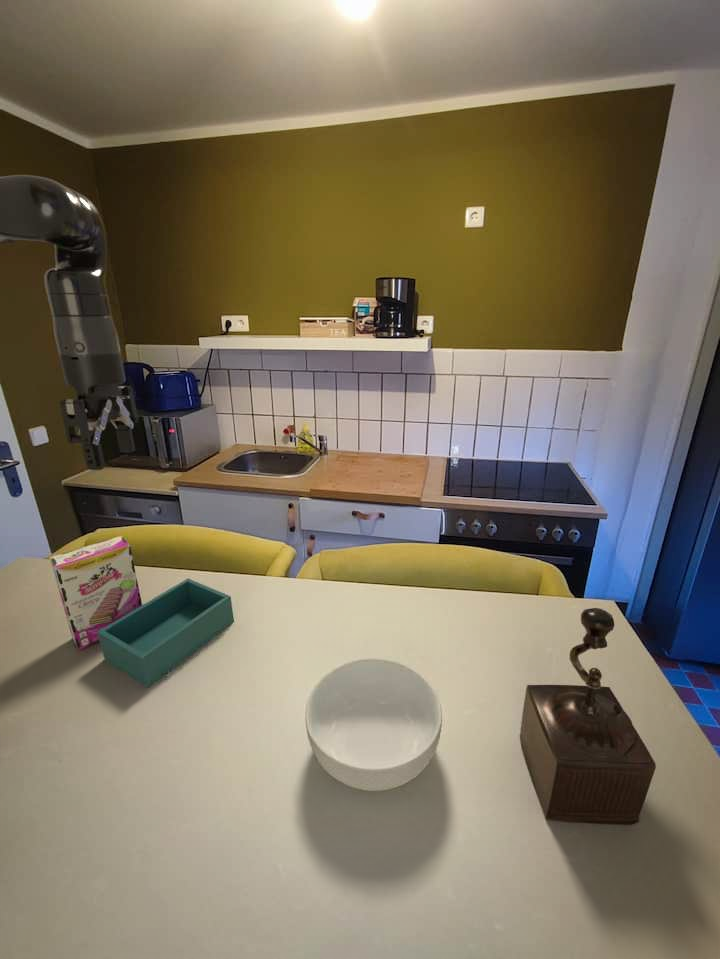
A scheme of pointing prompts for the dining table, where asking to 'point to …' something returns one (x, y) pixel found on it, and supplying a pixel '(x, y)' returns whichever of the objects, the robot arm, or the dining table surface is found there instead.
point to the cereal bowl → (373, 723)
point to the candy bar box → (96, 587)
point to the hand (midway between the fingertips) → (113, 460)
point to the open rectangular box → (165, 630)
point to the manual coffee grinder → (585, 744)
